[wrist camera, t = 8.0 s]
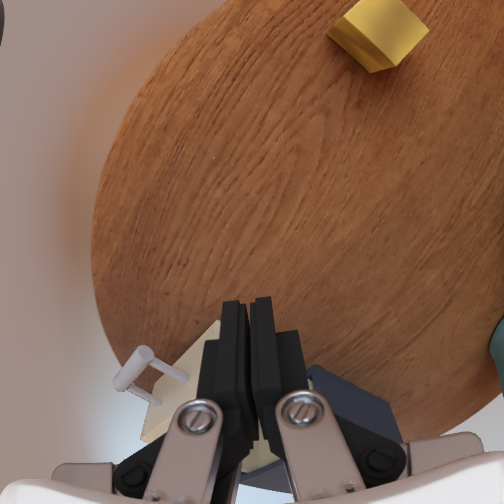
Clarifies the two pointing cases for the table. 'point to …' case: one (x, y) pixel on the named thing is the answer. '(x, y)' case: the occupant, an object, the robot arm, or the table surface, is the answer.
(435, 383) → the table surface
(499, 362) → the flower pot
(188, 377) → the drawer
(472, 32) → the table surface
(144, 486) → the robot arm
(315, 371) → the cabinet
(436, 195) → the table surface
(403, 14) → the block
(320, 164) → the table surface
